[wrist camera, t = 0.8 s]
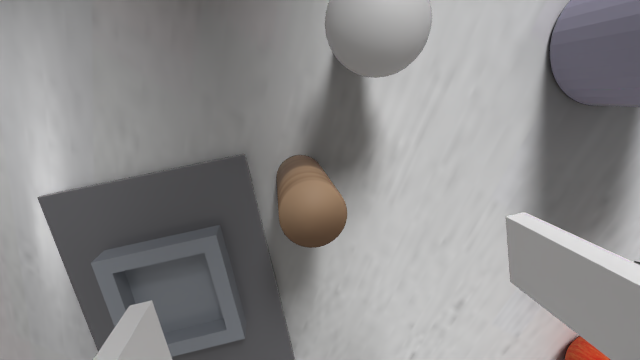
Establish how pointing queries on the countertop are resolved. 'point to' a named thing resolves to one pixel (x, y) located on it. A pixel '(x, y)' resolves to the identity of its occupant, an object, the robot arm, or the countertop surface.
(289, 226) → the peg
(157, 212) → the socket
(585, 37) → the container
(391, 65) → the lightbulb
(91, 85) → the countertop surface
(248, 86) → the countertop surface
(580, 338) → the apple
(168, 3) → the countertop surface
